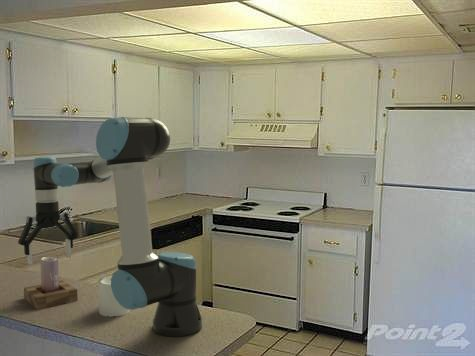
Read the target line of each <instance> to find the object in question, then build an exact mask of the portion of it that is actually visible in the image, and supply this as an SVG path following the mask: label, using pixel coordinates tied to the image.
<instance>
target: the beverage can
mask: <svg viewBox="0 0 475 356" xmlns="http://www.w3.org/2000/svg"><path fill="white" fill-rule="evenodd" d="M39 264H40V282H41V283H40V285H41V291H42V293H43V294H45V293H50V292H54V291H59V281H60V276H59V275H60V272H59V271H60V270H59V260H58V257H57V256H46V257H42V258H40V262H39Z"/></svg>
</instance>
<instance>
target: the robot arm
mask: <svg viewBox="0 0 475 356" xmlns="http://www.w3.org/2000/svg"><path fill="white" fill-rule="evenodd" d="M96 133H97V134H96V137H95V147H96V152H97V154H98V155H99V156H98V157H97V158H94V159H93V160H90V161H85V162H84V161H82V162H68V163H58V161H57V158H56V157H54V156H39V157H35V158H34V159H33V178H34V179H33V180H34V198H35V201H36V202H35V214H36V215H35V216H26V223H25V224H24V227H23V230H22V232H21V235H20V237H19V239H18V241H17V244H18V245H20V246H23V249H24V250H23V251H24V255H25V256H27V264H28V265H29V266H30V265H31V266H32V265H33V263H34V262H33V247H32V245H31V243H32V242H33V241H34V239H35V238H36V236H38V234H39V232H40V231H42V229H49V228H55V227H56V228H57V229H58V230H59V231H60V232H61V233H62V234H63V235H64V236H65V240H64V241H65V257H66V258H67V259H71V258H72V251H71V249H73V248H74V241H73V240H74V239H75V238H77V237H79V235H78V232H77V231H76V229H75V227H74V225H73V224H72V222H71V221H70V218H69V213H67V212H64V211H63V212H62V213H60V208H59V207H60V206H59V205H60V204H59V201H58V200H59V188H58V186H59V187H62V188H65V187H67V188H68V187H72V186H76V185H85V184H97V183H98V184H100V183H104V182H108V181H109V180H111V177H112V176H113V182H114V190H115V199H116V200H115V202H116V209H117V217H118V219H117V220H118V227H119V239H120V246H121V247H120V248H121V256H120V258H119V259H118V261H117V270H115V271H114V272H113V273H112V275H111V276H112V278H111V289H112V292H113V295H114V297H115V299H116V300H117V301H118V303H119V304H120V305H121V306H122V307H124V308H126V309H128V310H130V311H131V310H138V309H143V308H145V307H147V306H150V305H153V304H157V306H156V310H155V313H154V316H153V319H152V330H153V332H155V333H156V334H158V335H161V336H163V337H185V336H189V335H193V334H195V333H197V332H199V331H200V330H201V329H202V327H203V318H202V314H201V313H200V309H199V306H198V304H197V266H196V258H195V257H194V256H193V255H192V254H189V253H184V252H177V251H175V252H174V251H164V252H160V253H158V254H156V253H155V252H154V251H153V245H152V244H153V243H152V235H151V226H150V216H149V206H148V198H147V197H148V196H147V188H146V178H145V177H146V176H145V168H146V166H148V165H149V160H153V159H155V158H157V157H160V156H162V155H163V154H164V153H165V152H166V151H167V150H168V148H169V147H170V144H171V134H170V131H169V129H168V127H167V126H166V125H165V124H164V123H163V122H162V121H161V120H159V119H156V118H153V117H129V116H128V117H127V116H126V117H124V116H121V117H120V116H119V117H111V118H108V119H106V120H105V121H103V122H102V123H101V124H100V126H99V128H98V130H97V132H96ZM60 219H62V220H63V222H64V223H65V226H66V227H67V228H68V230H69V231H68V230H66V228H65V227H64V226H63V225H62V223H60ZM35 222H36V224H35V226H34V228H33V229H32V231H31V232H30V230H31V228H32V226H33V224H34V223H35Z"/></svg>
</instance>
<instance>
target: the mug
mask: <svg viewBox="0 0 475 356" xmlns="http://www.w3.org/2000/svg"><path fill="white" fill-rule="evenodd" d="M111 278H112V275H109V276H105V277H101V278H100V279H99V280H98V282H97V283H98V285H97V287H98V313H99V314H101V315H100V316H102V315H103V317H107V316H109V318H111V317H112V318H114V317H113V316H116V317H122V316H124V315H125V316H126V315H127V314H129V313H130V312H131V310H128V309H126V308H124V307H122V306H121V305H120V304H119V303H118V301H117V300H116V299H115V297H114V295H113V292H112V289H111Z"/></svg>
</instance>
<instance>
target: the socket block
mask: <svg viewBox="0 0 475 356" xmlns="http://www.w3.org/2000/svg"><path fill="white" fill-rule="evenodd" d="M23 299H24V300H26V302H28V303H29V304H30V305H31V306H33V307H34V308H35V309H36V310H41V309H45V308H46V309H47V308H50V307H55V306H59V305H63V304H67V302H68V303H73V302H77V301H78V289H77V288H76V287H74V286H72V285H71V284H69V283H67V282H66V281H64V280H62V279H61V280H59V291H54V292H50V293H45V294H43V293H42V291H41V284H37V285H31V286H26V287H23Z"/></svg>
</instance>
